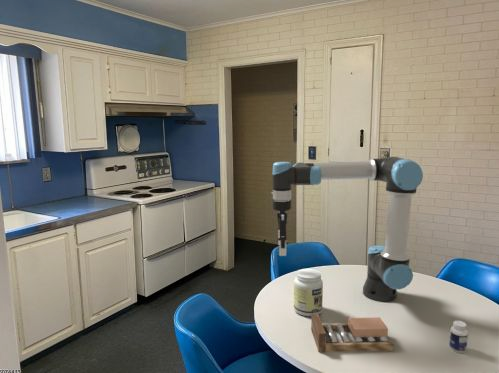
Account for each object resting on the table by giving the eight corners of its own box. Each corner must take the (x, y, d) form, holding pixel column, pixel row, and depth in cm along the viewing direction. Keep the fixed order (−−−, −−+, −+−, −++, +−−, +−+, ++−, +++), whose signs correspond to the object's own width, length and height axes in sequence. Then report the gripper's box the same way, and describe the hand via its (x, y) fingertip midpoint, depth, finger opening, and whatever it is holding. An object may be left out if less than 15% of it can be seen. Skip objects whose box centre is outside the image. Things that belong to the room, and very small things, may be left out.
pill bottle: (445, 344, 137) (447, 319, 135) (460, 344, 137) (462, 318, 135) (455, 353, 131) (457, 327, 130) (469, 352, 132) (472, 326, 130)
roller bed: (324, 329, 146) (324, 323, 145) (377, 328, 146) (377, 322, 145) (330, 346, 135) (331, 339, 134) (387, 344, 135) (388, 338, 135)
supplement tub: (315, 320, 155) (316, 281, 152) (288, 312, 161) (289, 275, 158) (326, 308, 165) (327, 271, 162) (300, 301, 171) (301, 265, 168)
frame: (378, 328, 148) (379, 311, 147) (393, 350, 134) (394, 332, 132) (311, 330, 147) (311, 313, 146) (318, 352, 133) (319, 333, 132)
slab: (379, 324, 144) (379, 317, 144) (387, 336, 136) (387, 328, 136) (348, 325, 144) (348, 318, 143) (354, 337, 136) (354, 329, 135)
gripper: (272, 194, 167) (272, 240, 170) (273, 206, 142) (273, 260, 146) (289, 194, 167) (289, 240, 170) (293, 206, 142) (293, 260, 146)
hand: (282, 249), depth 158 cm, fingers open, 13 cm apart
